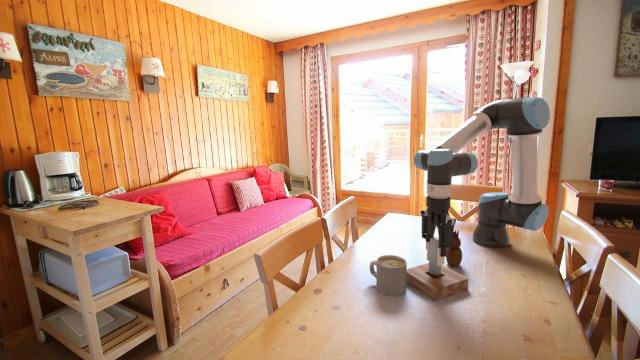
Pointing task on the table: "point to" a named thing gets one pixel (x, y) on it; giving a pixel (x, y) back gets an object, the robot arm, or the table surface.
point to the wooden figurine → (454, 251)
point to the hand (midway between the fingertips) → (435, 261)
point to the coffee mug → (390, 274)
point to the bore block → (436, 281)
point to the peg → (434, 256)
